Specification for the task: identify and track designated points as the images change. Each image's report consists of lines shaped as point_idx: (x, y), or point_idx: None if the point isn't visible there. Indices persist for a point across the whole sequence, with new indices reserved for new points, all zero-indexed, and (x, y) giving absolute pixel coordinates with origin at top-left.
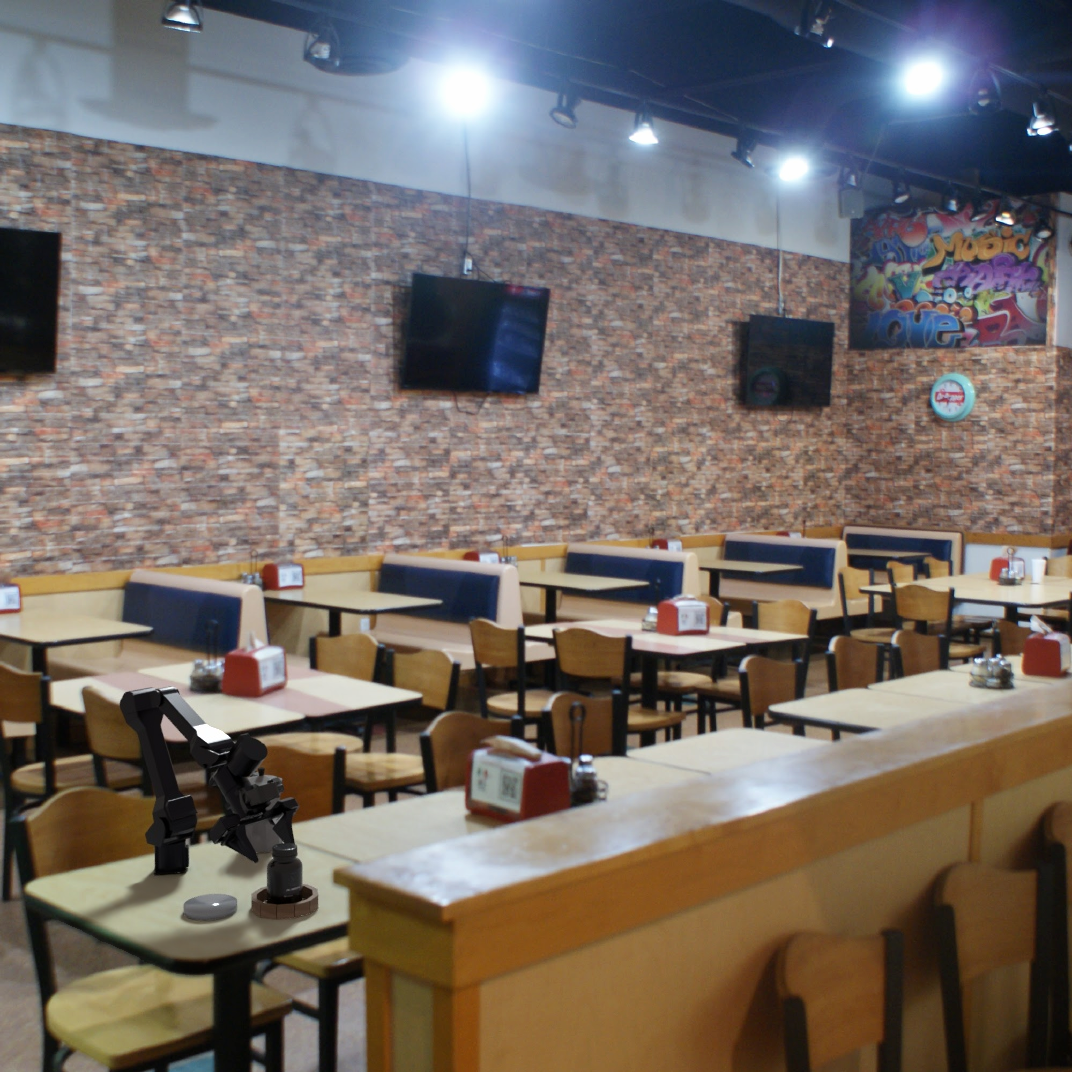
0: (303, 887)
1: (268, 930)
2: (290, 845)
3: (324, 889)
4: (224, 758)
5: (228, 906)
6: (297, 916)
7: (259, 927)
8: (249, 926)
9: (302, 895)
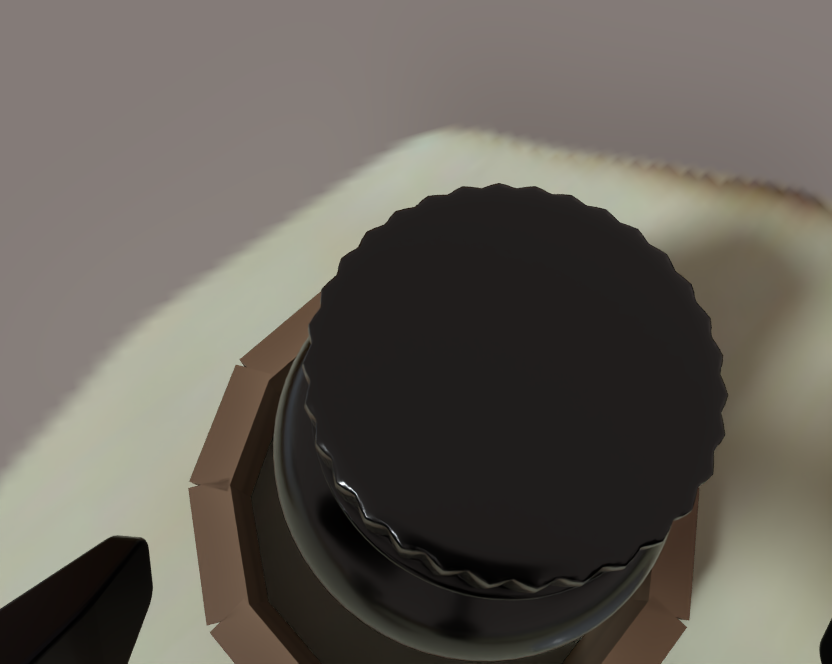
0: (233, 494)
1: (742, 321)
2: (417, 320)
3: (35, 505)
4: None
5: None
6: None
7: (753, 391)
8: (787, 450)
9: (248, 511)
